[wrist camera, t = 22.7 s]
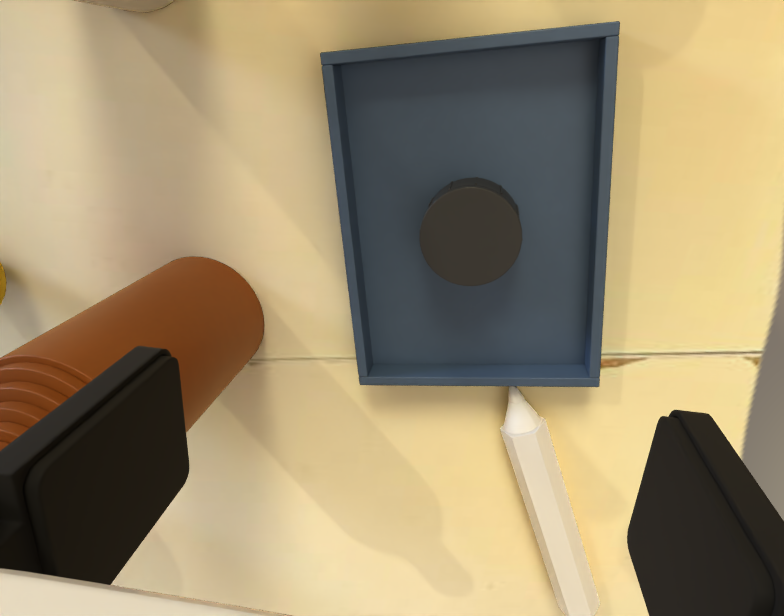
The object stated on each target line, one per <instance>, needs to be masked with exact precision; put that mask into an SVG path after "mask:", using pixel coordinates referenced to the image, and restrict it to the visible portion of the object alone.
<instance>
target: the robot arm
mask: <svg viewBox="0 0 784 616" xmlns="http://www.w3.org/2000/svg"><path fill="white" fill-rule="evenodd" d="M188 474H189V457H188V448H187V438H186V428H185V419H184V409H183V399H182V390H181V380H180V370H179V363H178V360H177V358H175V357H172V356H171V353H170V352H169V351H168V350H167V349H162V348H154V347H146V346H137V347H135V348H134V349H132V350H131V351H130V352H128V353H127V354H126V355H124V356H123V357H122V358H121V359H119V360H118V361H117V362H115V363H114V364H113V365H111V366H110V367H109V368H108V369H106V370H105V371H104V372H102V373H101V374H100V375H98V376H97V377H96V378H95V379H93V380H92V381H91V382H89V383H88V384H87V385H85V386H84V387H83V388H82V389H80V390H79V391H78V392H76V393H75V394H74V395H72V396H71V397H70V398H68V399H67V400H66V401H65V402H63V403H62V404H61V405H59V406H58V407H57V408H55V409H54V410H53V411H52V412H50V413H49V414H48V415H46V416H45V417H44V418H42V419H41V420H40V421H39V422H37V423H36V424H35V425H33V426H32V427H31V428H29V429H28V430H27V431H25V432H24V433H23V434H22V435H20V436H19V437H18V438H16V439H15V440H14V441H12V442H11V443H10V444H9V445H7V446H6V447H5V448H3V449H2V450H1V451H0V616H292V615H286V614H280V613H274V612H268V611H263V610H257V609H251V608H245V607H239V606H233V605H227V604H221V603H215V602H209V601H203V600H197V599H191V598H185V597H179V596H173V595H167V594H161V593H155V592H149V591H143V590H137V589H131V588H125V587H119V586H113V585H111V583H112V582H113V580H114V579H115V578H116V576H117V575H118V574H119V572H120V571H121V570H122V568H123V567H124V566H125V564H126V563H127V561H128V560H129V559H130V557H131V556H132V555H133V553H134V552H135V551H136V549H137V548H138V547H139V545H140V544H141V542H142V541H143V540H144V538H145V537H146V536H147V534H148V533H149V532H150V530H151V529H152V528H153V526H154V525H155V523H156V522H157V521H158V519H159V518H160V517H161V515H162V514H163V513H164V511H165V510H166V509H167V507H168V506H169V504H170V503H171V502H172V500H173V499H174V498H175V496H176V495H177V494H178V492H179V491H180V490H181V488H182V487H183V485H184V484H185V482H186V480H187V477H188ZM627 543H628V549H629V553H630V556H631V559H632V562H633V566H634V569H635V572H636V575H637V578H638V581H639V584H640V588H641V591H642V594H643V597H644V600H645V603H646V607H647V610H648V613H649V616H784V521H783V520H782V518H781V517H780V515H779V514H778V512H777V511H776V510H775V508H774V507H773V505H772V504H771V502H770V501H769V499H768V498H767V496H766V495H765V493H764V492H763V491H762V489H761V488H760V486H759V485H758V483H757V482H756V481H755V479H754V478H753V476H752V475H751V473H750V472H749V470H748V469H747V468H746V466H745V465H744V463H743V462H742V460H741V459H740V457H739V456H738V454H737V453H736V452H735V450H734V449H733V447H732V446H731V444H730V443H729V441H728V440H727V439H726V437H725V436H724V434H723V433H722V431H721V430H720V428H719V427H718V425H717V424H716V423H715V421H714V420H713V418H712V417H711V416H710V415H709V414H706V413H698V412H690V411H681V410H673V411H672V412H671V413H670V415H669V417H666V416H662V417H660V419H659V421H658V423H657V427H656V430H655V434H654V438H653V441H652V445H651V448H650V452H649V456H648V459H647V463H646V467H645V470H644V474H643V477H642V481H641V485H640V488H639V492H638V495H637V499H636V503H635V506H634V510H633V514H632V517H631V521H630V524H629V528H628V535H627Z"/></svg>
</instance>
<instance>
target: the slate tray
mask: <svg viewBox="0 0 784 616" xmlns="http://www.w3.org/2000/svg"><path fill="white" fill-rule="evenodd" d="M619 29H620V22H619V21H616V22H607V23H597V24H588V25H578V26H569V27H560V28H550V29H541V30H531V31H522V32H512V33H503V34H493V35H484V36H474V37H465V38H455V39H446V40H436V41H427V42H417V43H408V44H398V45H389V46H380V47H370V48H361V49H351V50H342V51H332V52H323V53H320V57H321V64H322V65H323V66H322V73H323V82H324V90H325V99H326V107H327V115H328V124H329V132H330V140H331V149H332V157H333V165H334V174H335V182H336V190H337V199H338V207H339V215H340V224H341V232H342V241H343V249H344V257H345V266H346V274H347V282H348V291H349V299H350V307H351V316H352V324H353V332H354V341H355V349H356V357H357V366H358V374H359V383H360V385H418V386H543V387H599V381H600V378H599V377H600V363H601V346H602V328H603V311H604V293H605V275H606V258H607V240H608V222H609V205H610V187H611V170H612V152H613V134H614V117H615V99H616V81H617V64H618V46H619V36H618V35H619ZM476 177H478V178H483V179H486V180H490V181H492V182H494V183H496V184H498V185H502V188H503V189H505V190H506V191H507V192H508V193H509V194H510V196H511V197H512V199H513V200H514V202H515V204H516V205H518V209H519V218H520V223H521V228H522V238H523V241H522V245H521V249H520V252H519V255H518V257H517V259H516V261H515V262H514V264H513V265H512V267H511V268H510V269H509V270H508V271H507V272H506V273H505V274H504V275H502V276H501V277H499V278H498V279H496V280H494V281H492V282H490V283H487V284H484V285H479V286H462V285H457V284H454V283H451V282H449V281H446V280H445V279H443V278H441V277H440V276H439V275H437V274H436V273H435V272H434V271H433V270H432V269H431V268H430V266H429V265H428V264H427V262H426V260H425V259H424V256H423V254H422V251H421V247H420V241H419V233H420V226H421V223H422V220H423V218H424V215H425V213H426V211H427V209H428V205H429V203H430V201H431V199H432V198H433V197H435V196H436V194H437V193H438V192H439V191H440V190H441V189H443V188H444V187H445V186H447V185H448V184H450V183H451V181H453V182H454V181H457V180H460V179H464V178H476Z"/></svg>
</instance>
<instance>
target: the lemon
mask: <svg viewBox="0 0 784 616" xmlns="http://www.w3.org/2000/svg"><path fill="white" fill-rule="evenodd" d="M5 292H6V276H5V272H4V269H3V266H2V264H1V263H0V305H1V303H2V300H3V298H4V296H5Z"/></svg>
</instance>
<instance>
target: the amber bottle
mask: <svg viewBox="0 0 784 616" xmlns="http://www.w3.org/2000/svg"><path fill="white" fill-rule="evenodd" d="M263 332H264V318H263V312H262V308H261V305H260V303H259V300H258V298H257V296H256V294H255V293H254V291H253V290H252V288H251V287H250V285H249V284H248V283H247V282H246V281H245V279H244V278H242V277H241V276H240V275H239V274H238V273H237V272H235V271H234V270H233V269H231V268H230V267H228V266H226V265H225V264H223V263H220V262H218V261H216V260H212V259H209V258H204V257H184V258H180V259H177V260H174V261H172V262H170V263H168V264H166V265H164V266H163V267H161V268H159V269H157V270H156V271H154V272H152V273H150V274H148V275H147V276H145V277H143V278H141V279H140V280H138V281H136V282H134V283H133V284H131V285H129V286H127V287H125V288H124V289H122V290H120V291H118V292H117V293H115V294H113V295H111V296H110V297H108V298H106V299H104V300H102V301H101V302H99V303H97V304H95V305H94V306H92V307H90V308H88V309H87V310H85V311H83V312H81V313H79V314H78V315H76V316H74V317H72V318H71V319H69V320H67V321H65V322H63V323H62V324H60V325H58V326H56V327H55V328H53V329H51V330H49V331H48V332H46V333H44V334H42V335H40V336H39V337H37V338H35V339H33V340H32V341H30V342H28V343H26V344H25V345H23V346H21V347H19V348H17V349H16V350H14V351H12V352H10V353H9V354H7V355H5V356H3V357H2V358H0V451H1V450H2V449H3V448H5V447H6V446H7V445H9V444H10V443H11V442H12V441H14V440H15V439H16V438H18V437H19V436H20V435H22V434H23V433H24V432H25V431H27V430H28V429H29V428H31V427H32V426H33V425H35V424H36V423H37V422H39V421H40V420H41V419H42V418H44V417H45V416H46V415H48V414H49V413H50V412H52V411H53V410H54V409H55V408H57V407H58V406H59V405H61V404H62V403H63V402H65V401H66V400H67V399H68V398H70V397H71V396H72V395H74V394H75V393H76V392H78V391H79V390H80V389H82V388H83V387H84V386H85V385H87V384H88V383H89V382H91V381H92V380H93V379H95V378H96V377H97V376H98V375H100V374H101V373H102V372H104V371H105V370H106V369H108V368H109V367H110V366H111V365H113V364H114V363H115V362H117V361H118V360H119V359H121V358H122V357H123V356H124V355H126V354H127V353H128V352H130V351H131V350H132V349H134V348H135V347H137V346H146V347H154V348H162V349H167V350H168V351H169V352H170V353H171V356H172V357H175V358H177V360H178V363H179V370H180V380H181V390H182V399H183V409H184V419H185V428H186V432H187V431H188V430H189V429H190V428H191V427H192V425H193V424H194V423H195V422H196V421H197V420H198V419H199V417H200V416H201V415H202V414H203V413H204V412H205V411H206V409H207V408H208V407H209V406H210V405H211V404H212V402H213V401H214V400H215V399H216V398H217V397H218V396H219V394H220V393H221V392H222V391H223V390H224V389H225V388H226V386H227V385H228V384H229V383H230V382H231V381H232V379H233V378H234V377H235V376H236V375H237V374H238V373H239V371H240V370H241V369H242V368H243V367H244V366H245V365H246V363H247V362H248V361H249V360H250V359H251V358H252V356H253V355H254V354H255V353H256V351H257V350H258V348H259V346H260V344H261V341H262V338H263Z"/></svg>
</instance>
